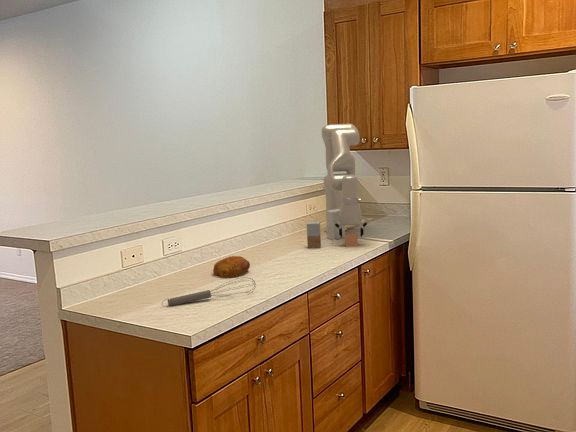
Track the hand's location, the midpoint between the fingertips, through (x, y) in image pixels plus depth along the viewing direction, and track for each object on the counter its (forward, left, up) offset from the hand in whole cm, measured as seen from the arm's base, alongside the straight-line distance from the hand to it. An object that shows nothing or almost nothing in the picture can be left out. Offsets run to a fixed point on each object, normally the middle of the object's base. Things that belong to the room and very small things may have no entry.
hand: (351, 236), depth 280 cm
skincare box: (-20, -8, -5) cm, 22 cm away
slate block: (+1, -18, +2) cm, 18 cm away
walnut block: (+1, -18, -4) cm, 19 cm away
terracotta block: (-1, 0, -5) cm, 5 cm away
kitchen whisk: (+86, -48, -5) cm, 99 cm away
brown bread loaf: (+50, -49, -5) cm, 70 cm away
